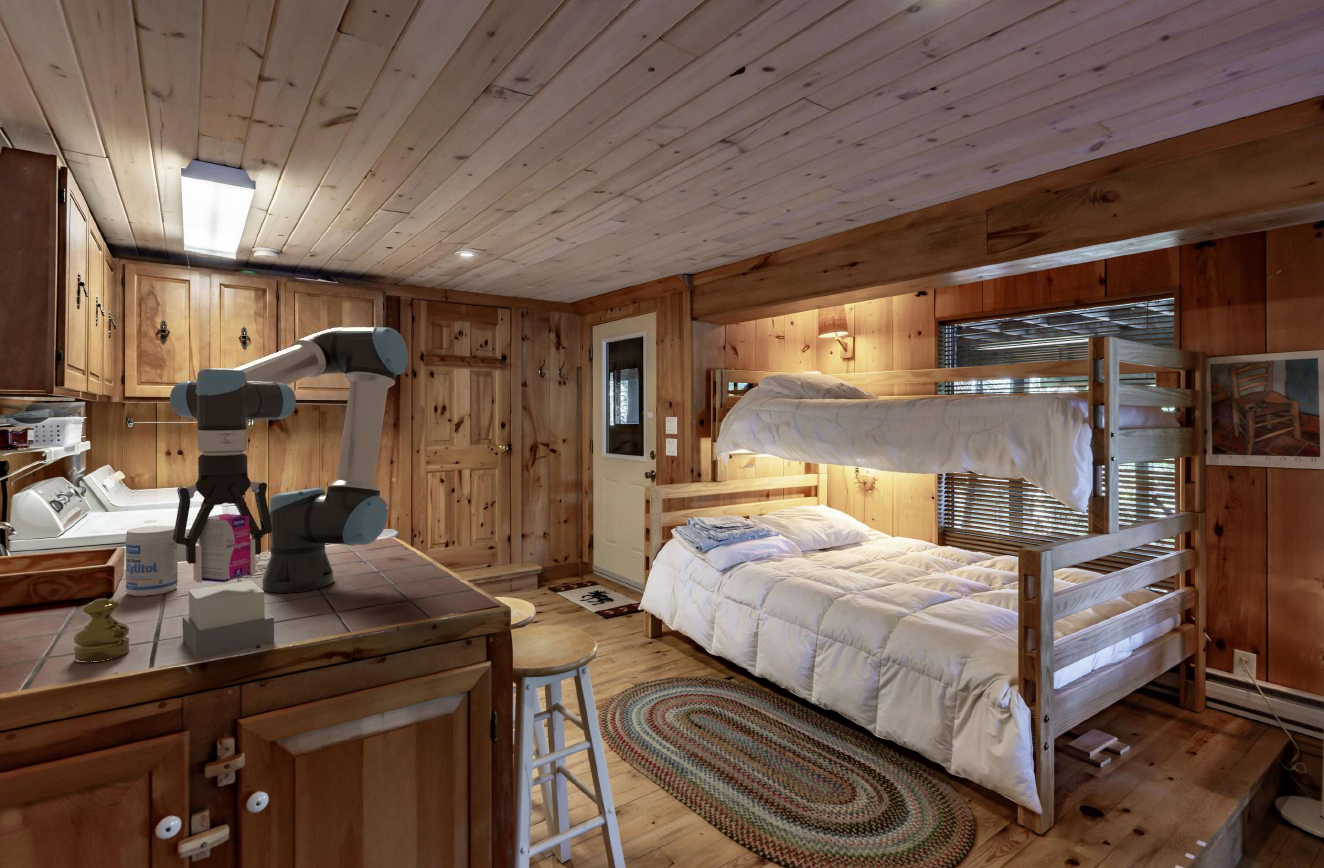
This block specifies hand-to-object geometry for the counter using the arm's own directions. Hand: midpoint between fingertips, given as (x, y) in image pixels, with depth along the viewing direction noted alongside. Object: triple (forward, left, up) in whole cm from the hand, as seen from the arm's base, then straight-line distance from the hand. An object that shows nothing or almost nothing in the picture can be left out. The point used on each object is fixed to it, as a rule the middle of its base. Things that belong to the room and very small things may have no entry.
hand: (225, 576), depth 122 cm
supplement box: (0, 0, 0) cm, 1 cm away
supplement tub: (-49, -4, -13) cm, 51 cm away
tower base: (0, 0, -13) cm, 13 cm away
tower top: (0, 0, -8) cm, 8 cm away
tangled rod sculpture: (-56, +17, -13) cm, 59 cm away
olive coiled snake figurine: (-7, -17, -13) cm, 22 cm away
